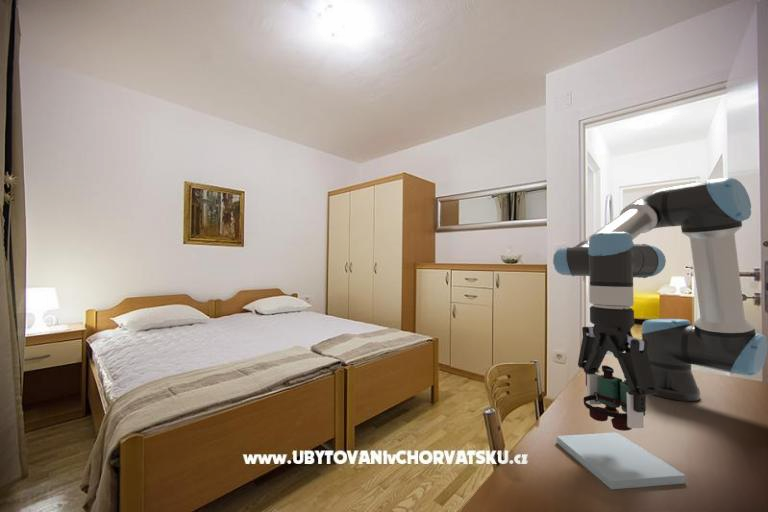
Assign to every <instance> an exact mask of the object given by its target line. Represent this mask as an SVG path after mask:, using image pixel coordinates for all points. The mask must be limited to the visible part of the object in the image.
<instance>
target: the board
mask: <svg viewBox="0 0 768 512" xmlns="http://www.w3.org/2000/svg"><path fill="white" fill-rule="evenodd" d="M556 444H558V445H559V446H560V447H561V448H562V449H564V450H565V451H566V452H567V453H568V454H569V455H571V456H572V457H573V458H574V459H575V460H576V461H578V462H579V463H580V464H581V465H582V466H583V467H584V468H585V469H587V470H588V471H589V472H590V473H591V474H592V475H594V476H595V477H596V478H598V480H600V481H601V482H602V483H603V484H604V485H605V486H606V487H608V488H609V489H610V490H620V489H621V490H623V489H633V488H634V489H635V488H644V487H645V488H647V487H656V486H657V487H658V486H670V485H671V486H672V485H682V484H686V475H685V474H684V473H683V472H682V471H679V470H678V469H677V468H674V467H673V466H671V465H670V464H668V463H666V462H665V461H664V460H662V459H660V458H659V457H658V456H655V455H654V454H652V453H651V452H650V451H647V450H646V449H644V448H642V447H641V446H640V445H638V444H636V443H635V442H632V440H629V438H627V437H625V436H623V435H622V434H620V433H619V432H604V433H603V432H601V433H600V432H599V433H587V434H586V433H585V434H584V433H583V434H570V435H569V434H568V435H556Z"/></svg>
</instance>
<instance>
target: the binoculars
mask: <svg viewBox="0 0 768 512" xmlns="http://www.w3.org/2000/svg"><path fill="white" fill-rule="evenodd" d="M601 371H602V372H603V374H600V375H601V376H599V378H598V392H599V393H598V392H594V395H590V396H587V395H586V396H584V397H583V405H584V407H586V409H588V410H589V412H588V413H589V417H590V418H591V419H592V420H594V421H596V422H597V421H598V422H606V421H608V419H609V417H610V418H611V420H610V422H611V424H612V428H613V429H615V430H618V431H623V432H624V431H631V430H632V429H633V428H629V427H627V392H629V391H630V388H629V386H628V383H627V381H626V379H625V376H624V375H623V377H624V380H623V379H622V378H619V377H616V376H614V375H613V374H614V371H615V370H614V368H613V367H610V366H608V365H605V364H604V365H601ZM636 387H637V388H638V385H637V386H636ZM595 393H597V398H598V400H597V399H596V395H595ZM589 400H595V402H597V401H599V402H600V403H601V405H604V407H602V406H594V405H589V404H588V403H587V401H589ZM620 407H621V410H622V411H623V412H620V411H619V410H618V409H617V408H620ZM645 416H646V411H645V412H643V417H645Z"/></svg>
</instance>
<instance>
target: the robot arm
mask: <svg viewBox="0 0 768 512" xmlns="http://www.w3.org/2000/svg"><path fill="white" fill-rule="evenodd" d="M751 215H752V203H751V199H750V195H749V193H748V191H747V189H746V188H745V186H744V184H742V182H740V181H739V180H738V179H736V178H733V177H725V178H724V177H721V178H714V179H708V180H703V181H699V182H693V183H687V184H683V185H677V186H671V187H666V188H661V189H657V190H655V191H653V192H650V193H648V194H645V195H643V196H642V197H640V198H638V199H636V200H634V201H633V202H630V203H629V204H628V205H626V206H625V207H624V208H623V209H621V211H620V213H619V215H618V216H617V217H615V218H614V219H612V220H611V221H609V222H608V223H607V224H605V225H604V226H603V227H601V228H600V229H598V230H596V231H595V232H594V233H592V234H591V235H590V236H588V237H587V238H585V239H584V240H582V241H581V242H579V243H578V244H576V245H574V246H572V247H571V246H567V247H562V248H559V249H557V250H556V251H555V253H554V254H553V259H552V264H553V267H554V269H555V271H556V272H557V273H558V274H559V275H562V276H571V277H577V276H578V277H589V287H588V288H589V289H588V290H589V293H588V295H589V297H588V298H589V299H588V300H589V301H588V302H589V304H591V306H590V307H589V322H590V323H591V324H592V325H593V326H583V327H582V328H581V331H582V339H581V345H580V350H579V356H578V361H577V366H578V367H579V368H582V369H583V372H584V374H585V386H586V396H590V395H594V392H598V378H599V376H601V375H602V374H600V373H601V371H600V370H599V369H600V368H601V366H602V363H603V361H604V359H605V356H606V355H607V353H608V352H610V353H612V354H613V357H615V358H616V360H617V361H618V364H619V365H620V368H621V372H622V373H623V377H624V376H625V378H624V380H626V381H627V383H628V386H629V388H630V391H629V392H627V427H629V428H632V429H643V428H644V425H645V424H644V416H643V412H645V413H646V411H647V403H646V402H647V401H646V400H647V399H646V398H647V396H656V397H661V398H664V399H669V400H675V401H679V402H680V401H681V402H682V401H683V402H696V401H699V400H701V391H700V388H699V387H698V385H697V382H696V379H695V377H694V374H693V371H692V365H694V366H697V367H698V366H699V367H703V368H706V369H707V368H708V369H710V370H711V369H712V370H716V371H719V372H720V371H721V372H725V373H730V374H732V375H733V374H735V375H741V376H747V377H753V376H756V375H757V374H759V373H760V372H761V370H762V369H763V367H764V364H765V362H766V358H767V354H768V340H767V337H766V335H764V334H761V333H760V332H759V333H756V329H755V325H754V323H751V322H749V320H747V319H746V317H745V309H744V301H743V300H744V299H743V293H742V285H741V276H740V268H739V259H738V251H737V244H736V235H735V234H736V233H737V232H738V231H739V230H740V229H742V227H743V222H744V221H746V220H748V219H750V218H751ZM667 227H668V228H669V227H670V228H671V227H680V229H681V233H682V234H683V235H685V236H686V237H688V238H689V241H690V248H691V255H692V256H691V258H692V263H693V265H692V266H693V271H694V278H695V286H696V293H697V300H698V301H697V302H698V308H699V309H698V310H699V316H700V317H699V318H698V319H697V320H695V321H694V322H693V325H692V323H691V321H690V320H689V319H684V318H683V319H682V318H681V319H680V318H655V319H654V318H653V319H652V318H651V319H646V320H644V321H643V322H642V324H641V325H642V327H641V328H642V329H641V339H640V338H636V337H634V336H633V334H632V331H631V329H632V327H634V326H635V310H634V309H633V308H631V307H633V306H634V303H635V302H634V278H643V279H647V278H650V277H654V276H657V275H658V274H660V273H661V272H662V271H663V270H664V268H665V267H666V261H667V260H666V256H665V253H663V251H662V250H661V249H659V248H658V247H656V246H654V245H650V244H648V243H641V244H640V243H634V242H633V241H634V239H636V238H637V237H638V236H640V235H641V234H646V233H648V232H651V231H652V230H653V229H654V230H655V229H659V228H667ZM637 385H638V388H637V387H636V386H637ZM598 393H599V392H598ZM595 395H596V399H597V400H598V398H597V393H595ZM586 403H588V404H589V405H591V406H595V405H602V403H600V402H599V401H597V402H595V400H589V401H586Z"/></svg>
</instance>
